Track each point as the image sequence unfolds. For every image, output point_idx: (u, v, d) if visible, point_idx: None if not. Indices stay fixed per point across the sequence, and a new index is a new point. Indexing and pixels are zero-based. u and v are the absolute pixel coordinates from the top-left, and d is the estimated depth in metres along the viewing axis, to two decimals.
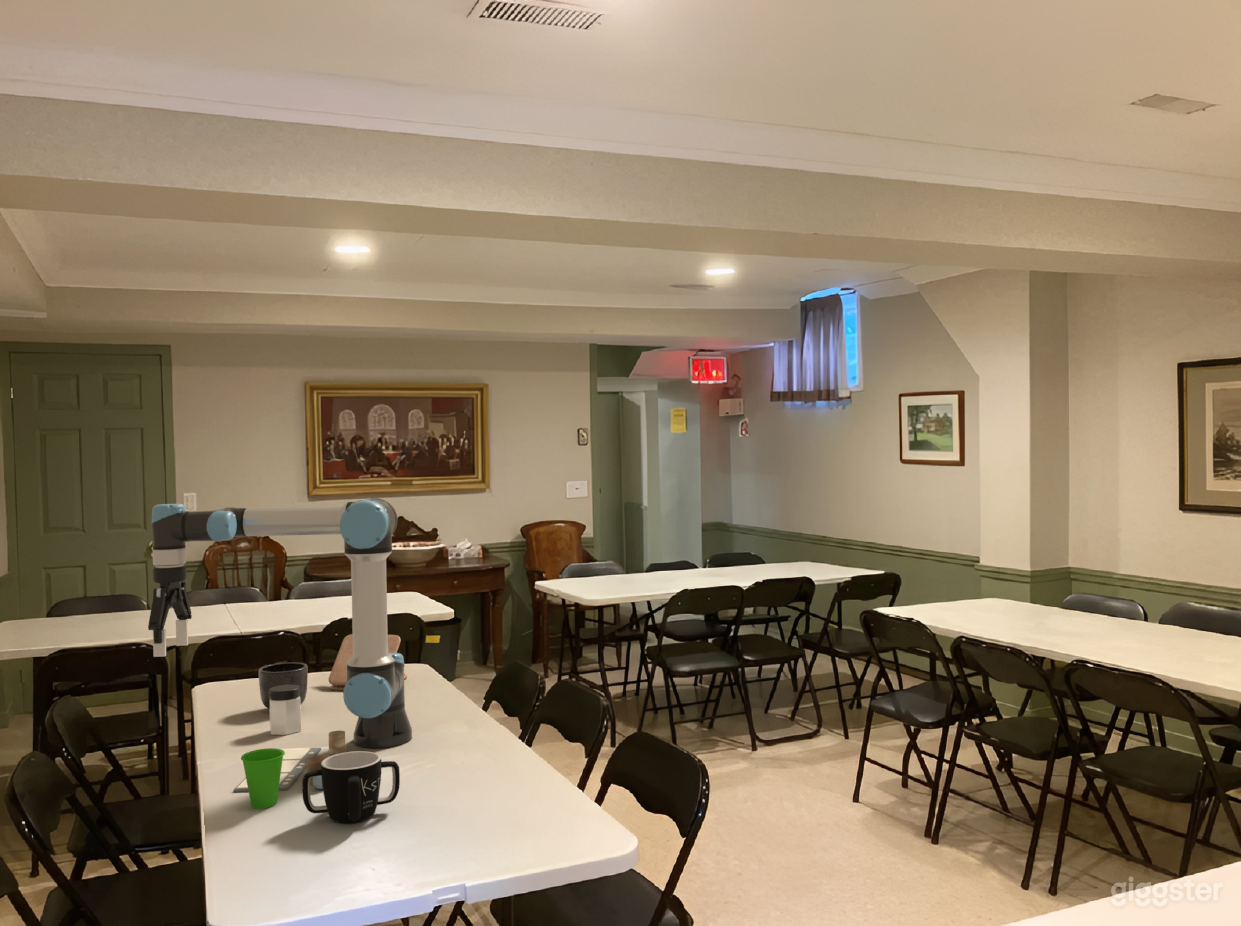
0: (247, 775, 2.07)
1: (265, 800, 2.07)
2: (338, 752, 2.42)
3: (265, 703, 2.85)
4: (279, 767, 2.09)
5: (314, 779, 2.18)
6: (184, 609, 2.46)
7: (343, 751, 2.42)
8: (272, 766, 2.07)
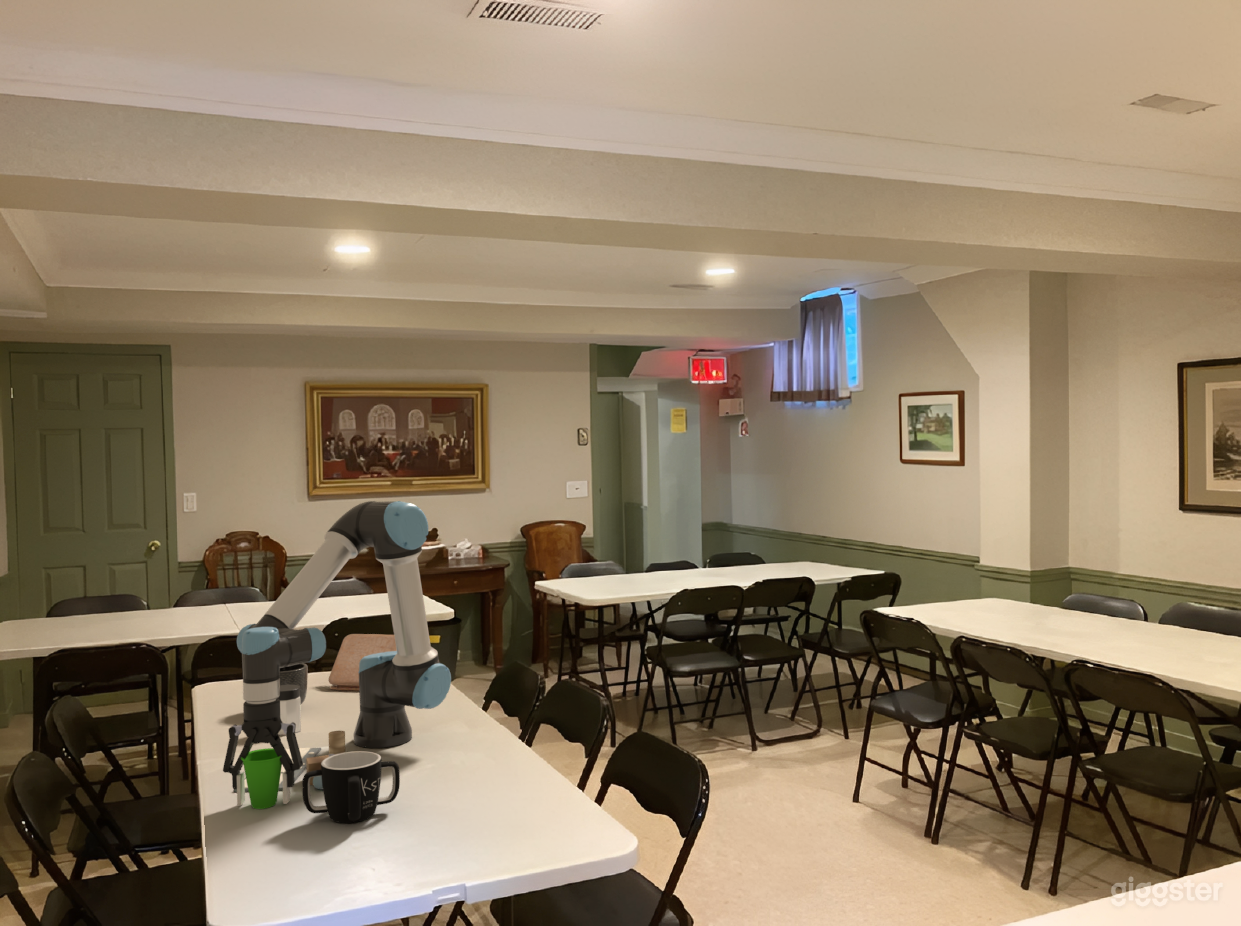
0: (247, 775, 2.07)
1: (265, 800, 2.07)
2: (338, 752, 2.42)
3: None
4: (279, 767, 2.09)
5: (314, 779, 2.18)
6: (281, 758, 2.09)
7: (343, 751, 2.42)
8: (272, 766, 2.07)
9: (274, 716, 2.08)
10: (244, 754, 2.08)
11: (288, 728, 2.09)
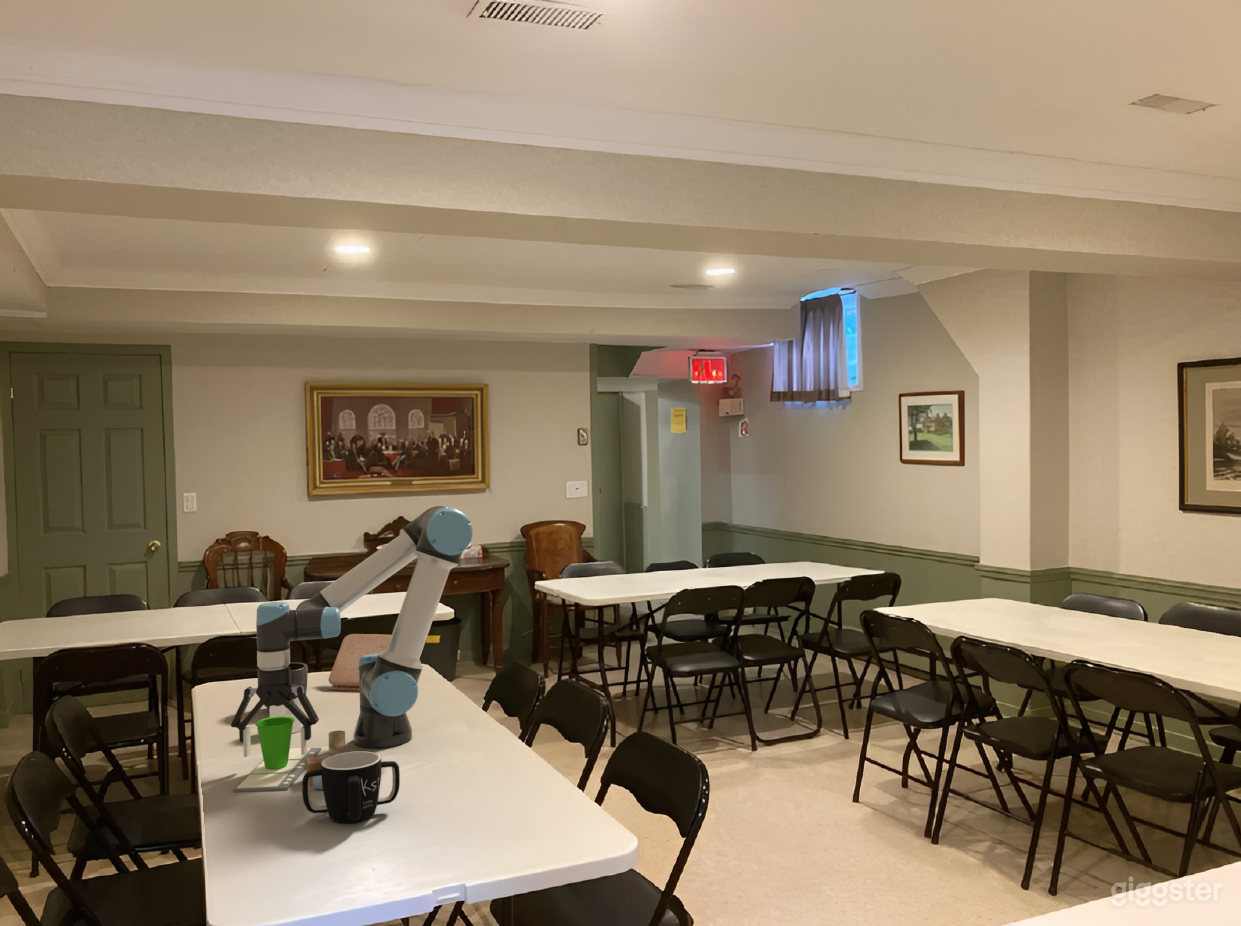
0: (261, 739, 2.31)
1: (277, 761, 2.31)
2: (338, 752, 2.42)
3: None
4: (290, 732, 2.33)
5: (314, 779, 2.18)
6: (297, 716, 2.33)
7: (343, 751, 2.42)
8: (283, 731, 2.31)
9: (285, 682, 2.32)
10: (253, 713, 2.32)
11: (298, 690, 2.33)
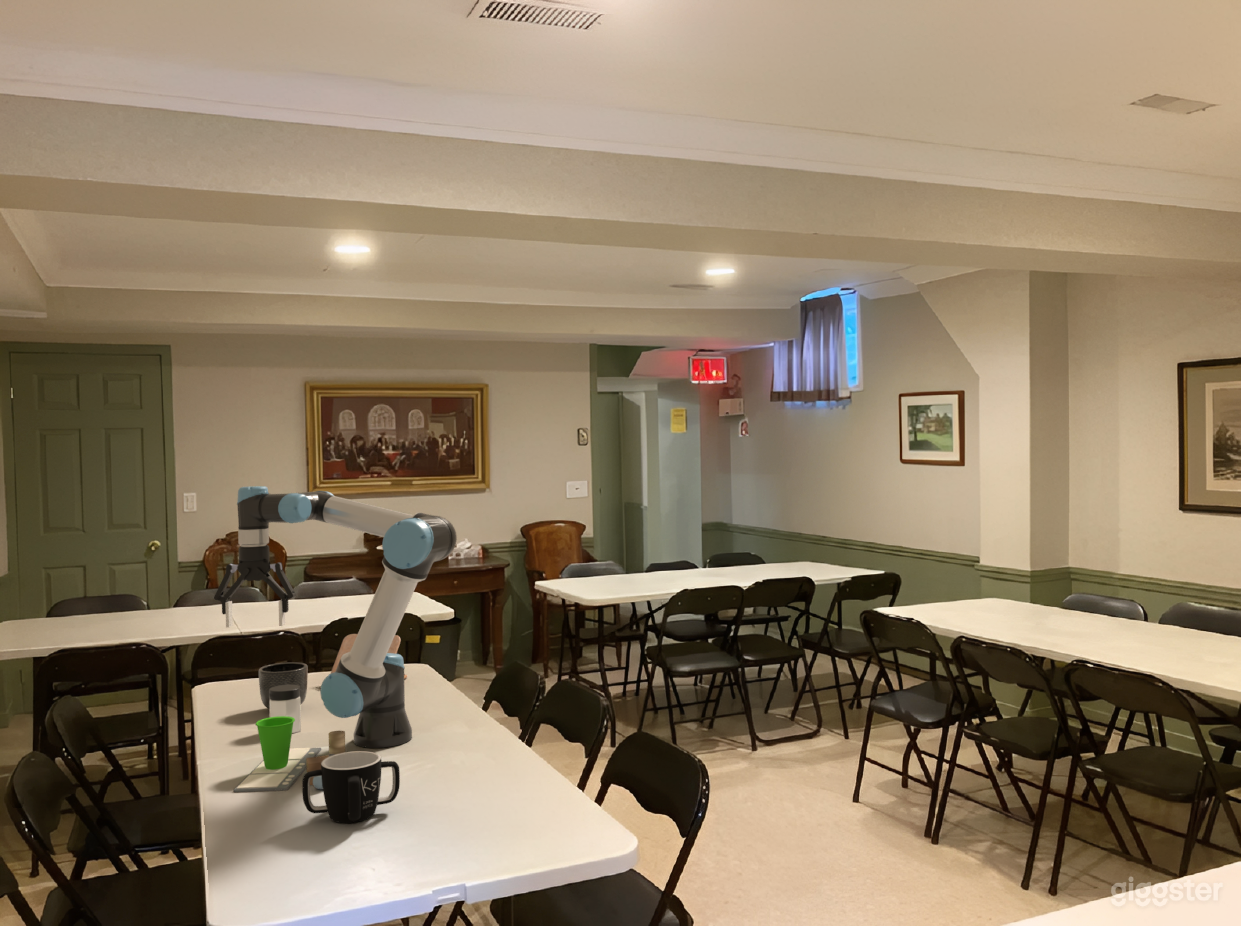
0: (261, 739, 2.31)
1: (277, 761, 2.31)
2: (338, 752, 2.42)
3: (265, 703, 2.85)
4: (290, 732, 2.33)
5: (314, 779, 2.18)
6: (275, 590, 2.52)
7: (343, 751, 2.43)
8: (284, 731, 2.31)
9: (264, 558, 2.51)
10: (235, 587, 2.51)
11: (276, 566, 2.52)
